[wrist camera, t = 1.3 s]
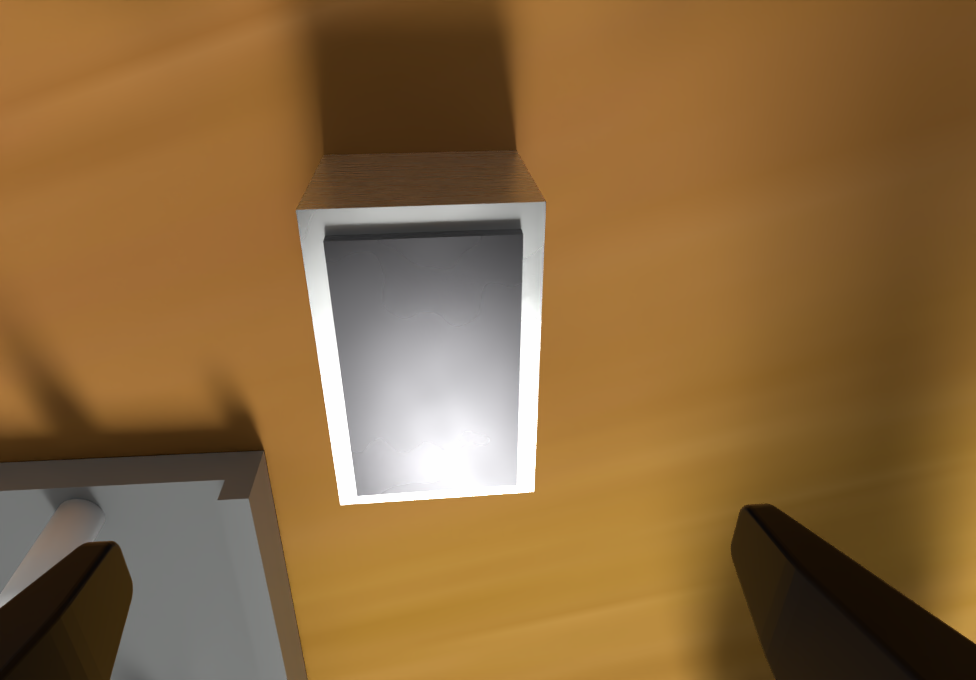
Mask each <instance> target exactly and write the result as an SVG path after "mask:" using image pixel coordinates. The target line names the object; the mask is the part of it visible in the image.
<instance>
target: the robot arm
mask: <svg viewBox="0 0 976 680" xmlns="http://www.w3.org/2000/svg"><path fill="white" fill-rule="evenodd" d="M731 555H732V560H733V563H734V566H735V569H736V572H737V575H738V578H739V581H740V584H741V587H742V590H743V593H744V596H745V599H746V602H747V605H748V608H749V611H750V614H751V617H752V620H753V623H754V626H755V629H756V632H757V635H758V638H759V641H760V643H761V646H762V649H763V651H764V654H765V657H766V659H767V662H768V664H769V666H770V669H771V671H772V673H773V675H774V678H775V680H976V644H975V643H973V642H972V641H971V640H969V639H968V638H966V637H965V636H963V635H962V634H960V633H959V632H957V631H956V630H954V629H953V628H952V627H950V626H949V625H947V624H946V623H944V622H943V621H941V620H940V619H938V618H937V617H935V616H934V615H933V614H931V613H930V612H928V611H927V610H925V609H924V608H922V607H921V606H919V605H918V604H917V603H915V602H914V601H912V600H911V599H909V598H908V597H906V596H905V595H903V594H902V593H900V592H899V591H898V590H896V589H895V588H893V587H892V586H890V585H889V584H887V583H886V582H884V581H883V580H881V579H880V578H879V577H877V576H876V575H874V574H873V573H871V572H870V571H868V570H867V569H865V568H864V567H863V566H861V565H860V564H858V563H857V562H855V561H854V560H852V559H851V558H849V557H848V556H846V555H845V554H844V553H842V552H841V551H839V550H838V549H836V548H835V547H833V546H832V545H830V544H829V543H828V542H826V541H825V540H823V539H822V538H820V537H819V536H817V535H816V534H814V533H813V532H811V531H810V530H809V529H807V528H806V527H804V526H803V525H801V524H800V523H798V522H797V521H795V520H794V519H792V518H791V517H790V516H788V515H787V514H785V513H784V512H782V511H781V510H779V509H778V508H776V507H775V506H773V505H771V504H751V505H745V506H743V507H742V509H741V510H740V513H739V516H738V520H737V524H736V527H735V531H734V535H733V538H732V542H731ZM132 596H133V582H132V578H131V576H130V573H129V570H128V567H127V564H126V561H125V559H124V556H123V553H122V550H121V548H120V546H119V545H118V544H117V543H116V542H114V541H98V542H87V543H84V544H82V545H80V546H78V547H77V548H76V549H74V550H73V551H72V552H71V553H69V554H68V555H67V556H66V557H64V558H63V559H62V560H60V561H59V562H58V563H57V564H55V565H54V566H53V567H52V568H50V569H49V570H48V571H46V572H45V573H44V574H43V575H41V576H40V577H39V578H38V579H36V580H35V581H34V582H32V583H31V584H30V585H29V586H27V587H26V588H25V589H24V590H22V591H21V592H20V593H18V594H17V595H16V596H15V597H13V598H12V599H11V600H10V601H8V602H7V603H6V604H4V605H3V606H2V607H1V608H0V680H110V678H111V675H112V671H113V667H114V664H115V660H116V656H117V653H118V649H119V645H120V641H121V638H122V634H123V630H124V627H125V623H126V619H127V615H128V612H129V608H130V604H131V601H132Z"/></svg>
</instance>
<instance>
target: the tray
mask: <svg viewBox="0 0 976 680" xmlns="http://www.w3.org/2000/svg"><path fill="white" fill-rule="evenodd" d="M98 541H114V542H116V543H117V544H118V545H119V546H120V548H121V550H122V553H123V556H124V559H125V561H126V564H127V567H128V570H129V573H130V576H131V578H132V582H133V596H132V601H131V604H130V608H129V612H128V615H127V619H126V623H125V627H124V630H123V634H122V638H121V641H120V645H119V649H118V653H117V656H116V660H115V664H114V667H113V671H112V675H111V678H110V680H307V675H306V670H305V664H304V659H303V654H302V649H301V643H300V638H299V633H298V628H297V622H296V617H295V612H294V607H293V601H292V596H291V591H290V586H289V580H288V575H287V570H286V564H285V559H284V554H283V549H282V543H281V538H280V533H279V528H278V522H277V517H276V512H275V507H274V501H273V496H272V491H271V485H270V480H269V475H268V470H267V464H266V459H265V454H264V451H245V452H223V453H202V454H180V455H159V456H137V457H116V458H94V459H73V460H51V461H30V462H8V463H0V608H1V607H2V606H3V605H4V604H6V603H7V602H8V601H10V600H11V599H12V598H13V597H15V596H16V595H17V594H18V593H20V592H21V591H22V590H24V589H25V588H26V587H27V586H29V585H30V584H31V583H32V582H34V581H35V580H36V579H38V578H39V577H40V576H41V575H43V574H44V573H45V572H46V571H48V570H49V569H50V568H52V567H53V566H54V565H55V564H57V563H58V562H59V561H60V560H62V559H63V558H64V557H66V556H67V555H68V554H69V553H71V552H72V551H73V550H74V549H76V548H77V547H78V546H80V545H82V544H84V543H87V542H98Z"/></svg>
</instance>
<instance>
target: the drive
mask: <svg viewBox="0 0 976 680" xmlns="http://www.w3.org/2000/svg"><path fill="white" fill-rule="evenodd" d="M296 214H297V220H298V227H299V234H300V240H301V247H302V254H303V260H304V267H305V273H306V280H307V287H308V293H309V300H310V307H311V313H312V320H313V327H314V333H315V340H316V346H317V353H318V360H319V366H320V373H321V380H322V386H323V393H324V400H325V406H326V413H327V420H328V426H329V433H330V439H331V446H332V453H333V459H334V466H335V473H336V479H337V486H338V493H339V499H340V505H348V504H363V503H377V502H392V501H406V500H421V499H435V498H450V497H464V496H479V495H493V494H508V493H522V492H534V480H535V456H536V432H537V407H538V383H539V359H540V335H541V311H542V287H543V263H544V239H545V215H546V201H545V199H544V197H543V196H542V194H541V192H540V190H539V189H538V187H537V185H536V183H535V182H534V180H533V178H532V176H531V175H530V173H529V171H528V169H527V168H526V166H525V164H524V162H523V161H522V159H521V157H520V155H519V154H518V152H517V150H502V151H463V152H423V153H384V154H345V155H324V156H323V158H322V160H321V162H320V163H319V165H318V167H317V169H316V171H315V173H314V175H313V177H312V179H311V181H310V183H309V185H308V187H307V189H306V191H305V193H304V195H303V197H302V199H301V201H300V203H299V205H298V207H297V209H296Z"/></svg>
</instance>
